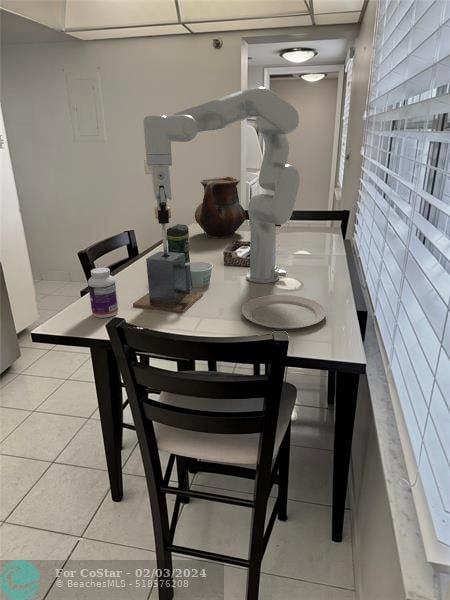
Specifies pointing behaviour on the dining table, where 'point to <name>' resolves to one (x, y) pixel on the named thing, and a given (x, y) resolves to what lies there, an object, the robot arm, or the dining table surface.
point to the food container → (200, 273)
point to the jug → (220, 208)
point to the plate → (288, 299)
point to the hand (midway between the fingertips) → (163, 221)
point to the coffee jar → (179, 240)
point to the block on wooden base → (168, 284)
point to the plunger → (163, 231)
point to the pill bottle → (102, 293)
